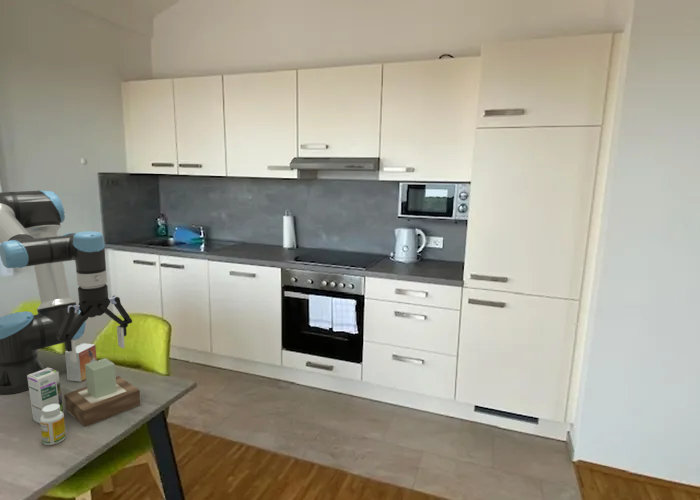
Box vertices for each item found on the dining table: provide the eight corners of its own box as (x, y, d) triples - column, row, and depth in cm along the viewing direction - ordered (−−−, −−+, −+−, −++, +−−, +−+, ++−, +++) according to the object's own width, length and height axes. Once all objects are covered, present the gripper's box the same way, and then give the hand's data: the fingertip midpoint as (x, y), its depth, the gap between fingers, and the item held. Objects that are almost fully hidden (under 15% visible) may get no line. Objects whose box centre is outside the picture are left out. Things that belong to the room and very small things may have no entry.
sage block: (87, 392, 139) (84, 364, 137) (108, 384, 143) (105, 358, 141) (96, 398, 135) (93, 370, 133) (116, 391, 139) (114, 363, 138)
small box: (81, 382, 155) (78, 353, 153) (67, 380, 156) (64, 351, 154) (98, 372, 162) (96, 344, 160) (84, 370, 164) (82, 342, 162)
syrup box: (43, 426, 129) (38, 379, 127) (32, 420, 132) (26, 373, 129) (64, 417, 134) (59, 371, 132) (53, 411, 137) (47, 366, 134)
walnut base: (65, 409, 138) (64, 393, 137) (119, 389, 150) (118, 375, 149) (84, 427, 130) (83, 410, 129) (140, 404, 142) (139, 389, 141)
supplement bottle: (40, 447, 120) (36, 414, 118) (45, 436, 125) (41, 404, 123) (64, 443, 122) (60, 410, 120) (67, 432, 127) (64, 400, 125)
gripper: (48, 297, 121) (56, 371, 125) (141, 279, 140) (145, 344, 144) (38, 291, 125) (46, 362, 130) (129, 275, 144) (133, 338, 149)
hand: (98, 353), depth 137 cm, fingers open, 13 cm apart
